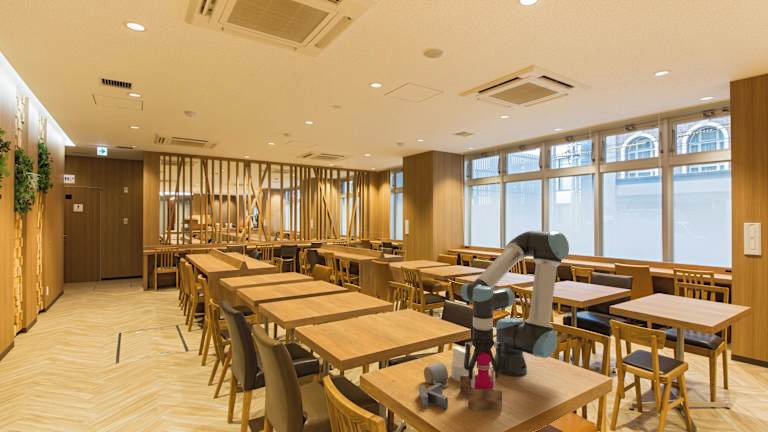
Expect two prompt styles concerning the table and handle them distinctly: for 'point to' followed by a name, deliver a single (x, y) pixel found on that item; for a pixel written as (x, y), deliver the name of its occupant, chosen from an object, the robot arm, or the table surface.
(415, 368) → the table surface
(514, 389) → the table surface
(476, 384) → the pepper mill
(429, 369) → the ceramic mug
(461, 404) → the table surface
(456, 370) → the base with upright slab
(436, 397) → the letter k block
